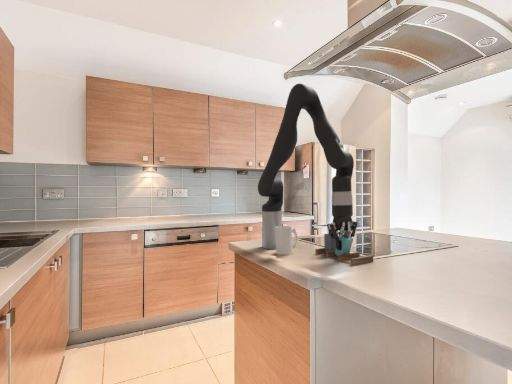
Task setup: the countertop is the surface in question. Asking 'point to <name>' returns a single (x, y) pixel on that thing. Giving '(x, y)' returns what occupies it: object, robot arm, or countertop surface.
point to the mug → (285, 240)
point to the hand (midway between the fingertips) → (343, 249)
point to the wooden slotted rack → (345, 257)
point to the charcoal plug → (329, 243)
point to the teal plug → (345, 244)
